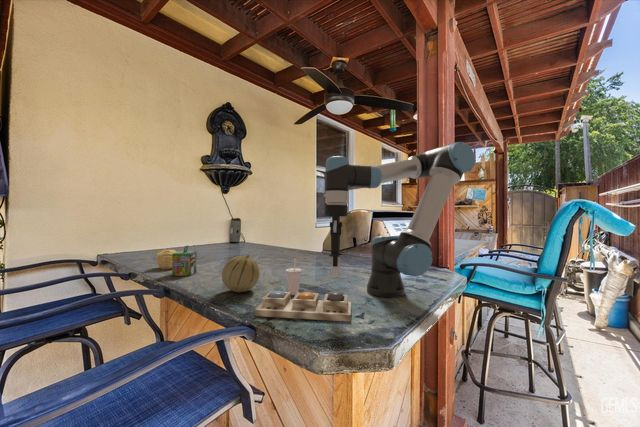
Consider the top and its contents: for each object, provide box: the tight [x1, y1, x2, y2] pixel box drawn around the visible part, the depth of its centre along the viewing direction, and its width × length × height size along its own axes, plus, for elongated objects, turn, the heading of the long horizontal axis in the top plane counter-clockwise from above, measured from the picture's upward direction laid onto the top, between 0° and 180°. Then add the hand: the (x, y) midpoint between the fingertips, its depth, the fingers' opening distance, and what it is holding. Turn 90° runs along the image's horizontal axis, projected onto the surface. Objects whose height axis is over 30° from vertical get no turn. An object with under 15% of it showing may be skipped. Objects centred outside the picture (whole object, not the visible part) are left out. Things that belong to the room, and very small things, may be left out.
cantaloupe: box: [221, 254, 260, 293], centre depth 111 cm, size 15×15×15 cm
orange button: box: [298, 291, 313, 300], centre depth 90 cm, size 5×5×2 cm
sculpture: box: [155, 249, 178, 270], centre depth 154 cm, size 12×12×11 cm
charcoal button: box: [327, 290, 344, 301], centre depth 89 cm, size 5×5×2 cm
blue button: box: [269, 290, 285, 298], centre depth 92 cm, size 5×5×2 cm
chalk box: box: [171, 245, 198, 277], centre depth 139 cm, size 9×9×15 cm
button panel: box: [254, 291, 352, 322], centre depth 89 cm, size 30×12×4 cm, turn 83°
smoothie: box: [285, 258, 302, 296], centre depth 108 cm, size 6×6×14 cm
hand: (335, 275), depth 89 cm, fingers closed
